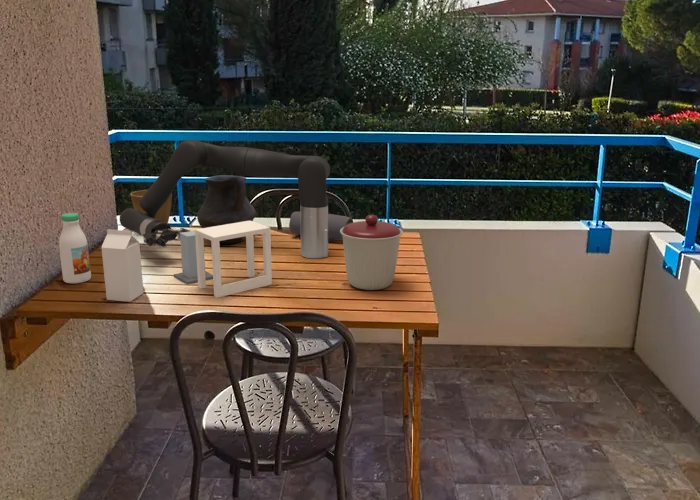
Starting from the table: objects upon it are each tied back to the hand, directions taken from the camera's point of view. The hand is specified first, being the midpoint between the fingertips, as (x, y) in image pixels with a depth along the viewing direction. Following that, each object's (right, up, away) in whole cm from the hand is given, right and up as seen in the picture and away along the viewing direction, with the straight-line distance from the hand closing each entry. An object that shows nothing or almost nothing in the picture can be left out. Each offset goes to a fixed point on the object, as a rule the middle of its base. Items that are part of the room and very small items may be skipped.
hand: (177, 241), depth 195 cm
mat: (+6, -11, -4) cm, 13 cm away
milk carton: (-9, -16, -21) cm, 27 cm away
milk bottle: (-28, -12, -7) cm, 31 cm away
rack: (+20, -13, -11) cm, 26 cm away
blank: (+6, -10, -4) cm, 13 cm away
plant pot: (-21, +3, +45) cm, 49 cm away
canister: (+59, -13, -9) cm, 61 cm away
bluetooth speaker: (+43, +1, +39) cm, 58 cm away
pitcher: (+9, 0, +35) cm, 36 cm away
